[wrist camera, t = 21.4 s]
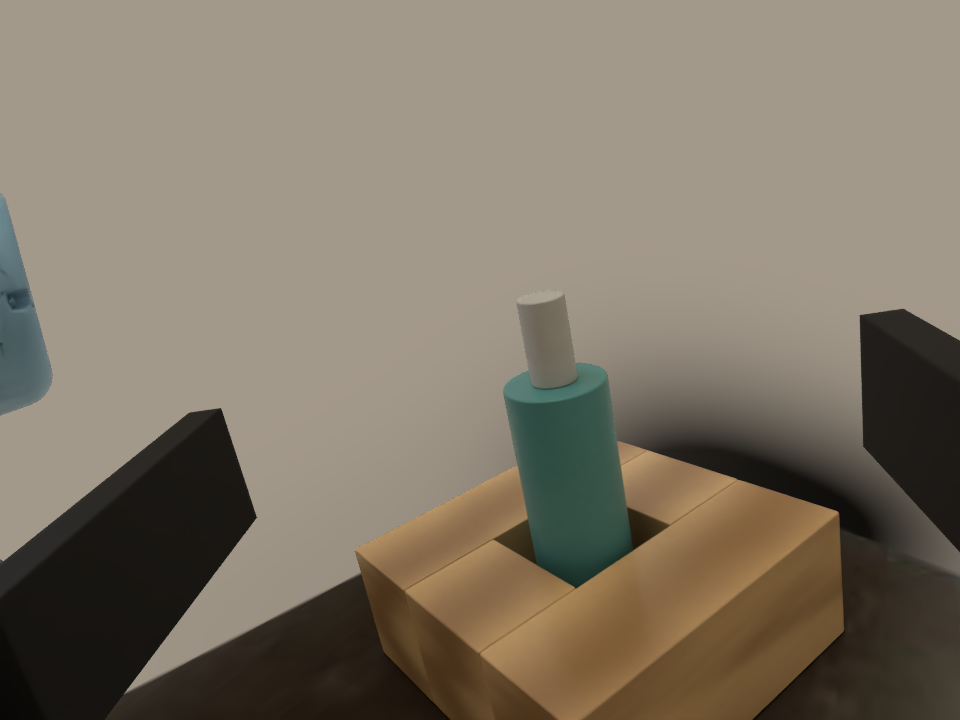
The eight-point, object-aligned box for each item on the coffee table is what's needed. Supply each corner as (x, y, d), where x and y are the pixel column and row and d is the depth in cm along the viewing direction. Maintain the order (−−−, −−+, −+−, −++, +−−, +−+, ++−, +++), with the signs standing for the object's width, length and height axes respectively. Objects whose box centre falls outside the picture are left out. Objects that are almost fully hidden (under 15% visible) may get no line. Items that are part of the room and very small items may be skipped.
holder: (383, 652, 29) (354, 549, 28) (599, 519, 36) (584, 429, 34) (597, 871, 19) (569, 728, 18) (845, 631, 26) (839, 511, 24)
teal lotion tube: (546, 675, 26) (474, 318, 22) (560, 612, 30) (499, 290, 26) (645, 678, 25) (588, 304, 21) (647, 612, 29) (599, 276, 24)
